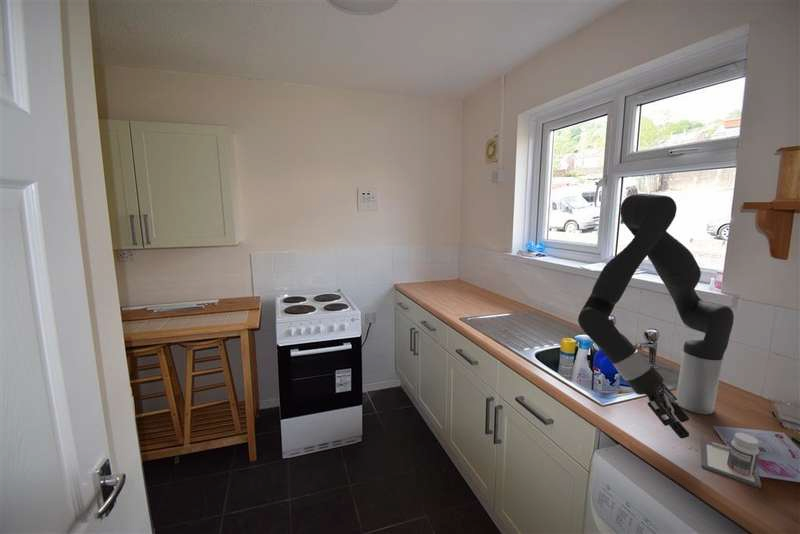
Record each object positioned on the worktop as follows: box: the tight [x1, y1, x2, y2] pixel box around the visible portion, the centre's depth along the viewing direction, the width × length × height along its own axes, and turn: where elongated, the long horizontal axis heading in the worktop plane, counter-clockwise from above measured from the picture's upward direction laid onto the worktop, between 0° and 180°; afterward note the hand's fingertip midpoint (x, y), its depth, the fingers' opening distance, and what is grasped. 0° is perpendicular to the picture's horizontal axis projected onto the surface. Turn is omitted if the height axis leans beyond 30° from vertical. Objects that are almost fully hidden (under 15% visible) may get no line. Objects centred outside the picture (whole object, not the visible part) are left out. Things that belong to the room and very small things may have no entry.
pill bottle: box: [727, 432, 760, 477], centre depth 82 cm, size 5×5×8 cm
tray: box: [700, 440, 762, 489], centre depth 86 cm, size 12×10×1 cm
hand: (685, 428), depth 89 cm, fingers open, 8 cm apart
